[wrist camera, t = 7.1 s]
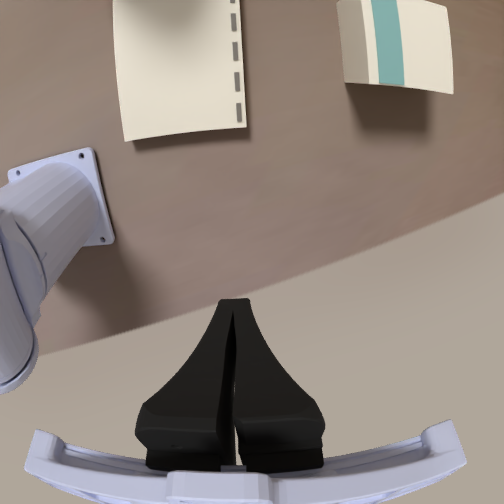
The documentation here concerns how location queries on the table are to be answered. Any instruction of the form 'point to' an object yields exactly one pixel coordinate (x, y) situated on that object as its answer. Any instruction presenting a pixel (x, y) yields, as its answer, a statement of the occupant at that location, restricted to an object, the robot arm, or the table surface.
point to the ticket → (178, 66)
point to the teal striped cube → (396, 43)
